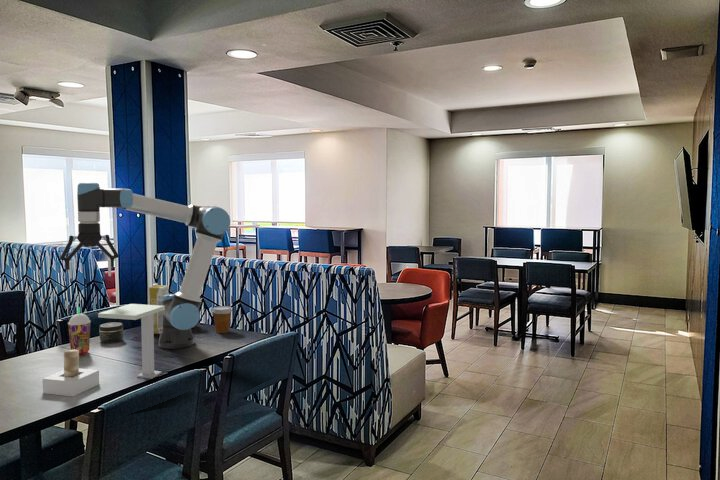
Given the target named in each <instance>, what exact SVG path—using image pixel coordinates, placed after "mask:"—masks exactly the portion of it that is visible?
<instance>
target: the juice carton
mask: <svg viewBox="0 0 720 480" xmlns="http://www.w3.org/2000/svg"><path fill="white" fill-rule="evenodd" d="M164 295H169V285H164V284H163V285H162V284H159V283H153V284H152V286H150V287H147V305H160V306H162V297H163V296H164ZM153 324H154V334H155V335H161V332H162V327H163V326H162V311H160V312H157V313H154V314H153Z"/></svg>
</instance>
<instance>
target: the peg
mask: <svg viewBox="0 0 720 480" xmlns="http://www.w3.org/2000/svg"><path fill="white" fill-rule="evenodd" d="M63 359H64V360H63V370H64V377H71V378H73V377H75V376H77V375H79V368H80V367H79V365H80V356H79V350H75V349H73V350H71V349H68V350H65V351H64V352H63Z"/></svg>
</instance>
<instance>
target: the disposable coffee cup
mask: <svg viewBox="0 0 720 480" xmlns="http://www.w3.org/2000/svg"><path fill="white" fill-rule="evenodd" d="M232 311H233V309H232V307H231V306H227V305H221V306H215V307H213V309H212V311H211V312H212V313H213V320H214V321H213V323H214V329H215V333H217V334H227V333H229V332H230V325H231V316H232Z"/></svg>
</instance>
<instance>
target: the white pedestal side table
mask: <svg viewBox="0 0 720 480" xmlns="http://www.w3.org/2000/svg"><path fill="white" fill-rule="evenodd" d="M163 310H165V306H160V305H148V304H142V303H129V304H125V305H122V306H121V305H120V306H119V307H115V308H112V309H111V308H110V309H108V310H103V311H101V312H99V313H97V317H98V318H101V319H102V318H104V319H113V320H114V319H115V320H117V319H119V320H131V321H132V320H133V321H136V320H140V322H141V323H140V325H141V373H139V374H137V375H136V377H137V378H142V379H151V380H152V379H154V378H155V377H157V376H159V375H161V374H162V371H161V370H160V371H159V370H155V338H154V337H155V336H154V324H153V314H154V313H157V312H160V311H163Z"/></svg>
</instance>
